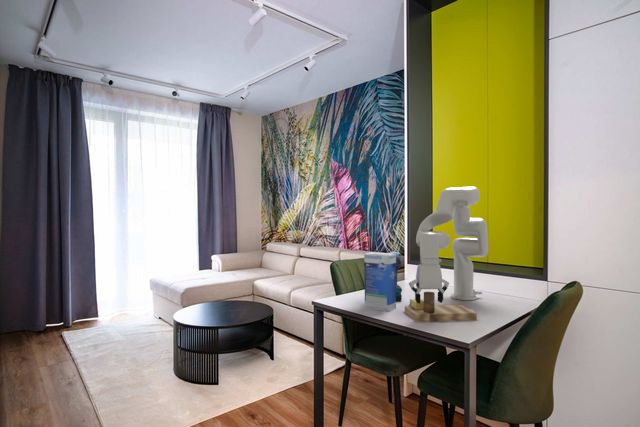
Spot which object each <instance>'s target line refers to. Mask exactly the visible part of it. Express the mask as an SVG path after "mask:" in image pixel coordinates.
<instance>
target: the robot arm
mask: <svg viewBox="0 0 640 427" xmlns="http://www.w3.org/2000/svg"><path fill="white" fill-rule="evenodd" d="M480 198H481V193H480V189H478V187H476V186H462V187H459V186H457V187H455V186H454V187H448V188H445V189H443V190H442V191H441V192H440V195H439V197H438V200H437V203H436V207H435V210H434V212H433V213H431V214H430V215H428V216H426V218H424V219H423V220H422V221H421V223H420V225H419V227H418V229H417V232H416V235H415V236H416V238H415V242H416V244H417V247H419V264H417V268H416V275H415V279H413V280H412V281H410V282H408V286H409V287H410V288H411V291H413V292H414V299H415V301H416V302H417V303H420V299H421V294H420V293H421V291H423V290H437V302H438V303H442V304H443V301H444V294H445V293H446V292H445V291H447V289H448V287H449V285H450V282H449V281H447V280H445V279H444V278H443V276H442V269H441V265H440V263H442V261H443V260H442V259H441V258H439V257H440V256H439V250H444V249H447V248H448V247H449V246H450V243H451V237H450V235H449V234H448V233H447V232H445V231H434V230H433V231H432V229H434V228H435V227H439V226H442V225H444V224H446V223H447V224H448V222H451V221H452V222H453V223H452V224H453V231H454V234H455V235H456V236H460V237H457V238H455V239H453V241H452V244H451V247H452V248H451V249H452V254H453V293H451V294H450V297H451V298H452V299H453V300H454V299H455V300H459V301H475V300H477V295H483V290H477V289H474V263H473V261H472V260H471V258H470V257H474V258H485V257H487V256H488V253H489V238H488V236H489V235H488V225H487V221H486V220H485V219H484V218H481V217H471V209H470V206H474V205H476V204H477V203H478V202H479V201H480Z"/></svg>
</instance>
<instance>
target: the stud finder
mask: <svg viewBox="0 0 640 427" xmlns="http://www.w3.org/2000/svg"><path fill="white" fill-rule="evenodd" d="M411 299H412V300H411V305H410V306H412V307H413V308H415V309H424V298H420V303H417V302H416V301H415V298H414V299H413V298H411Z"/></svg>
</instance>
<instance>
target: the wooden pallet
mask: <svg viewBox="0 0 640 427" xmlns="http://www.w3.org/2000/svg"><path fill="white" fill-rule="evenodd" d="M404 313H406V314H407V315H408V316H409V317H411V318H412V319H413V320H414V321H415V323H429V322H430V323H436V322H437V323H438V322H462V321H477V318H478V317H477V315H478V314H477V313H478V312H475V311H473V310H472V309H470V308H467V307H465V306H464V305H461V304H435V312H434V313H426V312H424V309H415V308H413V307H412V306H411V305H404Z"/></svg>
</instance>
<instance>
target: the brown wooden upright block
mask: <svg viewBox="0 0 640 427" xmlns="http://www.w3.org/2000/svg"><path fill="white" fill-rule="evenodd" d="M435 293H436V292H434V291H423V299H424V312H426V313H434V312H435V305H436V304H435V302H436V301H435V297H436V295H435Z"/></svg>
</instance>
